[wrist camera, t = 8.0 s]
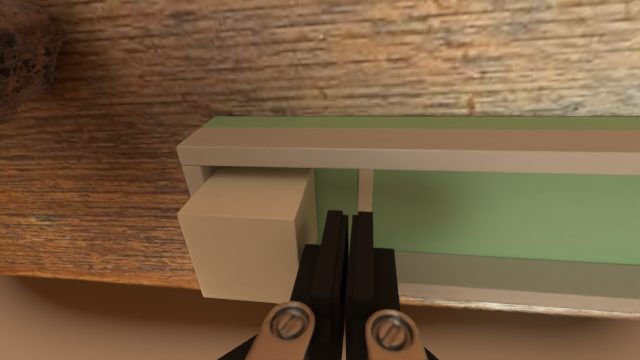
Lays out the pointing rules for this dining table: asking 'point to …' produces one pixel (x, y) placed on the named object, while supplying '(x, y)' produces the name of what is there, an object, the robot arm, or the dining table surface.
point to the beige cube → (250, 231)
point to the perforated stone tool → (26, 53)
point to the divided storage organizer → (465, 197)
